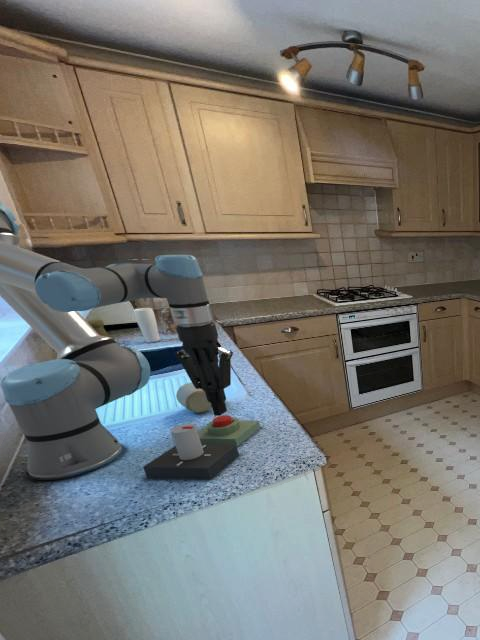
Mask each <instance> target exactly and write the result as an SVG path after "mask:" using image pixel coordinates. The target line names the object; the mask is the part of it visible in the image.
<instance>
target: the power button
mask: <svg viewBox="0 0 480 640" xmlns="http://www.w3.org/2000/svg"><path fill="white" fill-rule="evenodd" d="M231 417H232V416H231V415H229V414H222V415H220V416H215V417H213V419H212V421H213V424H214V427H224V426H227V425H230V424H232V418H231Z"/></svg>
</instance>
